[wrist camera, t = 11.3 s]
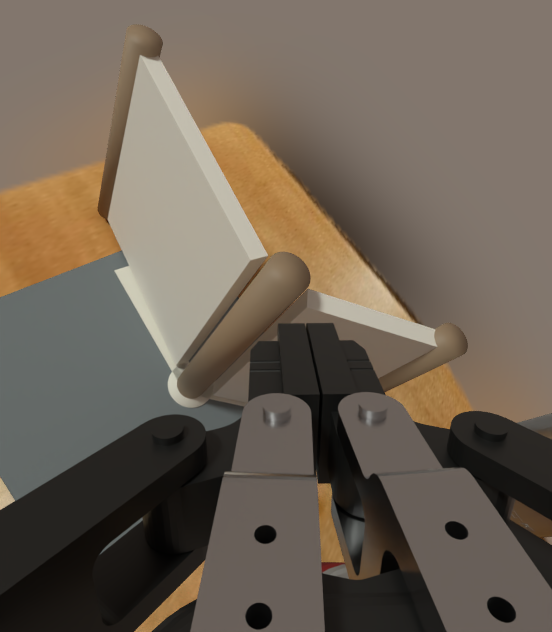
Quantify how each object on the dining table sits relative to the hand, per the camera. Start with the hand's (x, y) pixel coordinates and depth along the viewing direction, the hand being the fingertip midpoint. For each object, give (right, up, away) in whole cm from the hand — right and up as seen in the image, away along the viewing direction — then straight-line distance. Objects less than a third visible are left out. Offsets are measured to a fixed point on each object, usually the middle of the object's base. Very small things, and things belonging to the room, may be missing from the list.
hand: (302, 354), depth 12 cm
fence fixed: (-2, -5, +21) cm, 22 cm away
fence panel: (-11, +4, +21) cm, 24 cm away
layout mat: (-9, -4, +18) cm, 21 cm away
